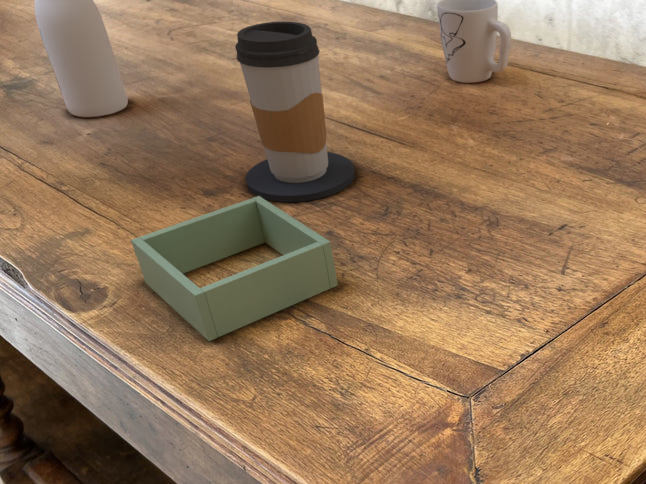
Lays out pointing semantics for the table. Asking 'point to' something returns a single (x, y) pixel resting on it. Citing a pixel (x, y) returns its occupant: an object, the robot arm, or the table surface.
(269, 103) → the coffee cup
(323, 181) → the slate mat
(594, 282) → the table surface
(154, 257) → the frame
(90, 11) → the milk bottle
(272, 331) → the table surface
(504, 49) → the mug
